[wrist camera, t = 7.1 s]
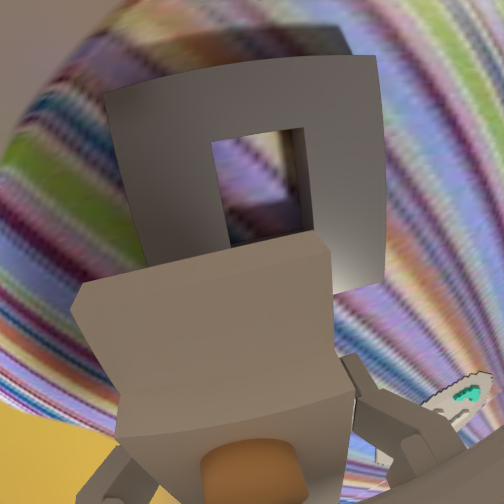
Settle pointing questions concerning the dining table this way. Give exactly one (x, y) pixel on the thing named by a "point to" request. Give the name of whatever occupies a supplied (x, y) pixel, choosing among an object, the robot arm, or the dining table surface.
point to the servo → (228, 372)
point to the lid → (454, 404)
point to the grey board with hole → (248, 123)
